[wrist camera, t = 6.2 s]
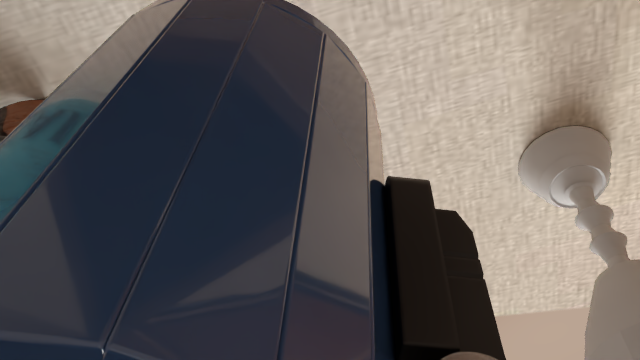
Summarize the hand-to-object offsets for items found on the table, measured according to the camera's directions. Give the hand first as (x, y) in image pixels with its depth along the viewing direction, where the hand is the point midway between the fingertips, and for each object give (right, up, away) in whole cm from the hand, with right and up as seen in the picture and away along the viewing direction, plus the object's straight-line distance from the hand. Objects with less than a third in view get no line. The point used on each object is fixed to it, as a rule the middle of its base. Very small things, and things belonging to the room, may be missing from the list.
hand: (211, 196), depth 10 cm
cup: (0, +2, +2) cm, 3 cm away
